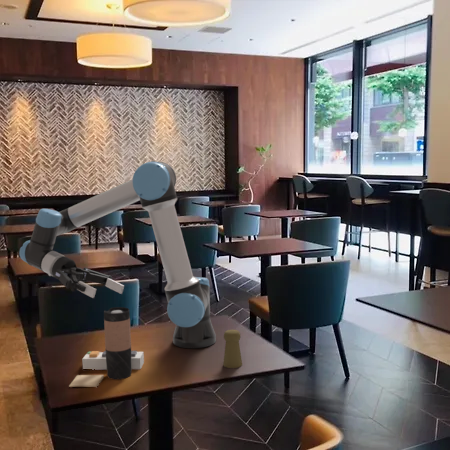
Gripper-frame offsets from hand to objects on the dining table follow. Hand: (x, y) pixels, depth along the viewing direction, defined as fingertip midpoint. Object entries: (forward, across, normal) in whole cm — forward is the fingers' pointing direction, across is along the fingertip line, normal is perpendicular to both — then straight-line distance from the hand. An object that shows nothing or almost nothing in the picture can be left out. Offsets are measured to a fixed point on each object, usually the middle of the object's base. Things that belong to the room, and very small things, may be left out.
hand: (109, 291), depth 174 cm
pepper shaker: (+38, -20, -11) cm, 45 cm away
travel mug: (+13, +1, -22) cm, 25 cm away
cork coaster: (+8, +9, -24) cm, 27 cm away
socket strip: (+6, -5, -23) cm, 24 cm away
